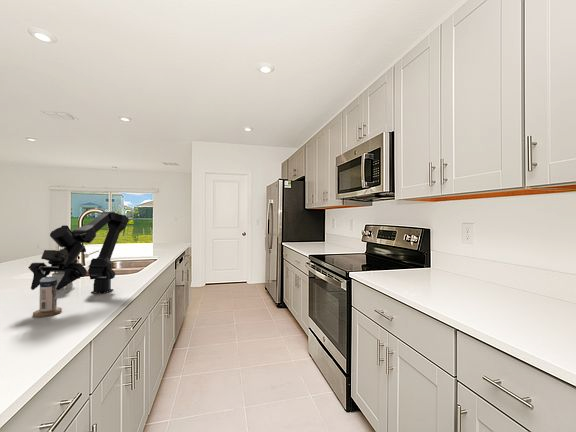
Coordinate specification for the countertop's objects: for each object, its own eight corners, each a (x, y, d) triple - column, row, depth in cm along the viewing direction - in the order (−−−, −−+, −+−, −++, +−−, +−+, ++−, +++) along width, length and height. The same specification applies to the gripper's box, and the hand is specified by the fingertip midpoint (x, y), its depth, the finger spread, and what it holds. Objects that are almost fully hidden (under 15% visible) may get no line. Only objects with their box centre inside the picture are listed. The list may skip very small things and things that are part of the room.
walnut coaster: (49, 309, 108) (49, 306, 108) (67, 310, 106) (67, 308, 106) (26, 316, 100) (26, 313, 100) (45, 318, 98) (45, 315, 98)
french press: (71, 286, 142) (71, 236, 142) (79, 290, 135) (80, 237, 135) (45, 290, 134) (46, 237, 134) (54, 294, 127) (54, 239, 127)
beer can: (58, 310, 104) (58, 277, 104) (40, 313, 100) (41, 279, 100) (54, 307, 107) (55, 275, 107) (38, 310, 103) (38, 277, 103)
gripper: (33, 241, 107) (2, 276, 96) (81, 241, 107) (56, 277, 96) (50, 258, 115) (24, 293, 104) (96, 259, 115) (74, 294, 104)
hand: (44, 289), depth 102 cm, fingers open, 9 cm apart
